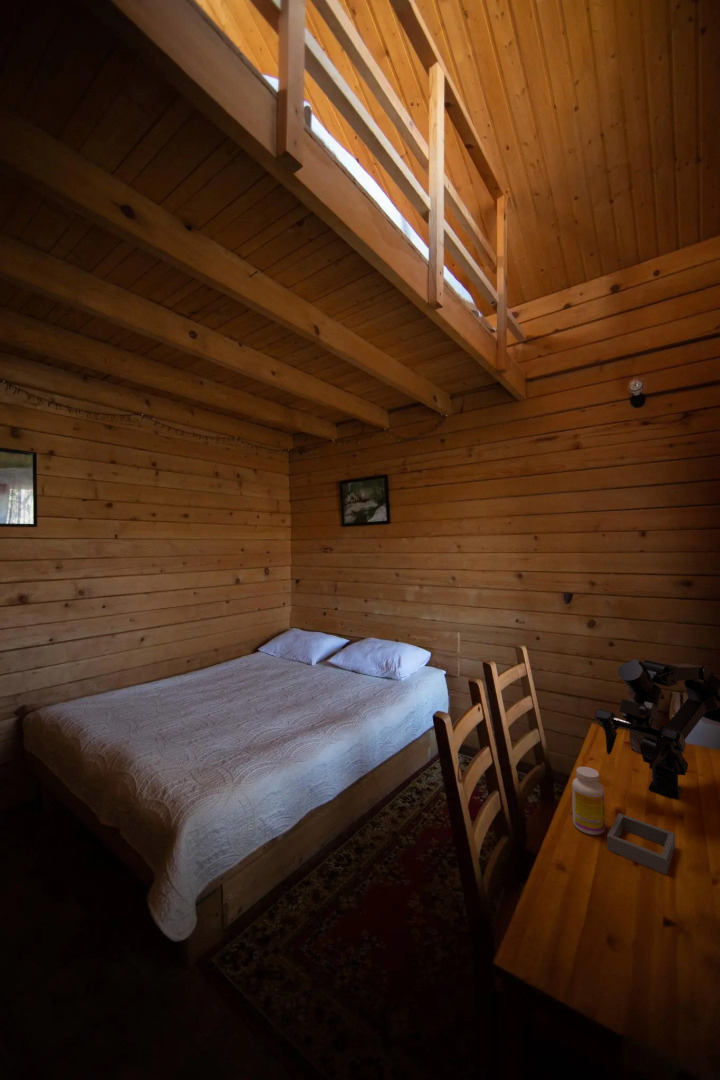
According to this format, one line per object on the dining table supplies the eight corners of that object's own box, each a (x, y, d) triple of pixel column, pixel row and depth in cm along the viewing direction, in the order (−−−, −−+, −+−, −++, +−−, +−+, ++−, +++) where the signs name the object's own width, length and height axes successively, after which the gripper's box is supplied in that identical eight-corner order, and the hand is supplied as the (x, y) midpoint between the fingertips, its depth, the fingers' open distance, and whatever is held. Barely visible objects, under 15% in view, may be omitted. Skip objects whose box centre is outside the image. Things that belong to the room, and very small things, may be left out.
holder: (619, 825, 101) (619, 813, 101) (675, 847, 94) (674, 833, 94) (607, 849, 93) (606, 835, 93) (666, 875, 86) (666, 859, 86)
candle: (623, 745, 141) (622, 683, 141) (645, 743, 141) (643, 682, 142) (640, 756, 133) (639, 691, 133) (663, 755, 134) (661, 690, 134)
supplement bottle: (609, 838, 97) (608, 780, 97) (577, 834, 98) (576, 777, 98) (599, 819, 103) (598, 765, 103) (569, 816, 105) (568, 763, 105)
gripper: (596, 677, 115) (577, 730, 108) (680, 696, 100) (665, 759, 93) (609, 700, 120) (592, 752, 113) (691, 721, 105) (678, 783, 98)
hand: (628, 760), depth 104 cm, fingers open, 9 cm apart
